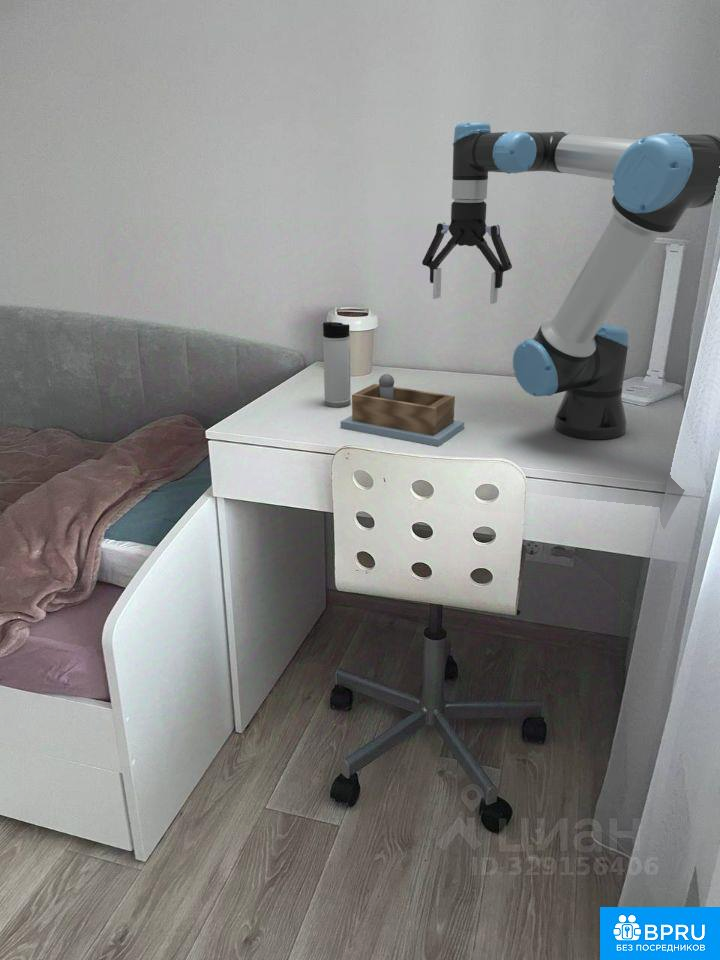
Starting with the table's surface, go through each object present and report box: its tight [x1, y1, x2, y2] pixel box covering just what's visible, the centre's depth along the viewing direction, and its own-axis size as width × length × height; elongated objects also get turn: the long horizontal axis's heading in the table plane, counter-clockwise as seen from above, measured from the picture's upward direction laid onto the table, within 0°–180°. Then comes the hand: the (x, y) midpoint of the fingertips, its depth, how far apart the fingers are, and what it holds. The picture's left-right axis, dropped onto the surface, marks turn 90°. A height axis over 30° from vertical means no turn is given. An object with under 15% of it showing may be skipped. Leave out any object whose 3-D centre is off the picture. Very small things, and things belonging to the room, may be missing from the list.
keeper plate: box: [340, 373, 465, 447], centre depth 173 cm, size 24×13×12 cm, turn 59°
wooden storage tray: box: [351, 383, 456, 436], centre depth 174 cm, size 20×10×6 cm, turn 59°
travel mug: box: [322, 321, 352, 408], centre depth 188 cm, size 6×7×20 cm
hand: (464, 300), depth 179 cm, fingers open, 13 cm apart
